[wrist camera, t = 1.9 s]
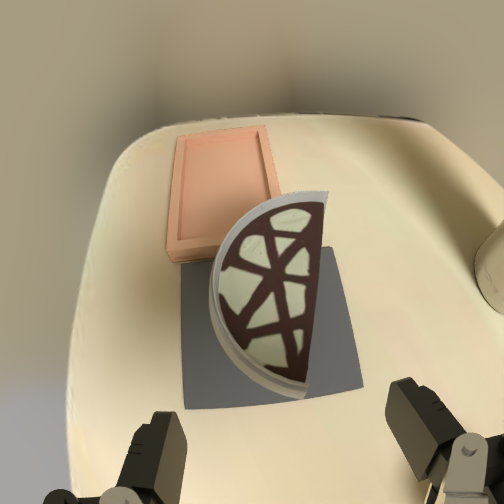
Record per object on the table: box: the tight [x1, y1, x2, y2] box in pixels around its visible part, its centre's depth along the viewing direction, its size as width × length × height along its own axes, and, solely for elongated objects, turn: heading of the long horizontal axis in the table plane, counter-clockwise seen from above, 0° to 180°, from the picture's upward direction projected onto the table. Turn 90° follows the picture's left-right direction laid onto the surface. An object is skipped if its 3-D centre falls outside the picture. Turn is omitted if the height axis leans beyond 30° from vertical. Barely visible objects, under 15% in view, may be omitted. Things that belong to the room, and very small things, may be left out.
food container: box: [209, 191, 328, 400], centre depth 19 cm, size 12×6×10 cm, turn 169°
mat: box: [181, 247, 364, 409], centre depth 24 cm, size 14×13×1 cm
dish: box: [166, 125, 281, 262], centre depth 31 cm, size 11×17×2 cm, turn 6°
